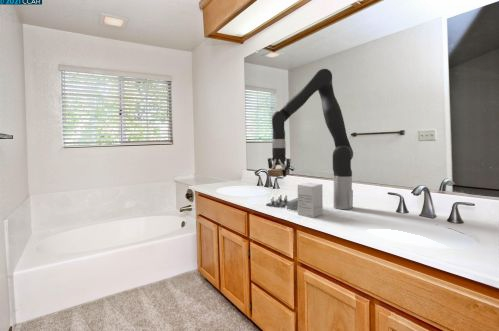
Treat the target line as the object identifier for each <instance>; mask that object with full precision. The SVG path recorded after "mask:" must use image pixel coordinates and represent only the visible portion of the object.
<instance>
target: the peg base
mask: <svg viewBox="0 0 499 331" xmlns="http://www.w3.org/2000/svg"><path fill="white" fill-rule="evenodd" d="M275 199H276V200H275ZM283 199H284V200H283ZM288 201H289V200H288V195H284V196H283V195H282V194H278V197H276V198H275V197H274V196H273V197H272V196H271V197H270V202H268V203H266V205H265V206H267V207H272V208H279V207H281V208H283V207H286V206H287V202H288ZM285 205H286V206H285Z"/></svg>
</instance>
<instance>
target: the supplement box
mask: <svg viewBox="0 0 499 331" xmlns="http://www.w3.org/2000/svg"><path fill="white" fill-rule="evenodd" d="M297 198H298V208H297V215H298V214H299V215H298V216H303V217H308V218H315V217H318V216H321V215H323V214H324V213H323V210H324V209H323V184H322V183H313V182H305V183H301V184H297Z"/></svg>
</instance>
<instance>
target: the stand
mask: <svg viewBox="0 0 499 331" xmlns="http://www.w3.org/2000/svg"><path fill="white" fill-rule="evenodd" d="M287 201H288V202H287V205H286V210H288V209H291V210H290V211H294V210H296V209H298V197H296V198H294V199H291V200H287ZM295 208H296V209H295ZM293 209H294V210H293Z"/></svg>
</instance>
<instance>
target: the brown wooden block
mask: <svg viewBox="0 0 499 331" xmlns="http://www.w3.org/2000/svg"><path fill="white" fill-rule="evenodd" d="M290 172H291V169H288V170H287V175H286V176H289V175H290V174H291V173H290ZM267 177H273V178H279V177H283V168H282V167H279V168H275V169H267Z"/></svg>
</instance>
